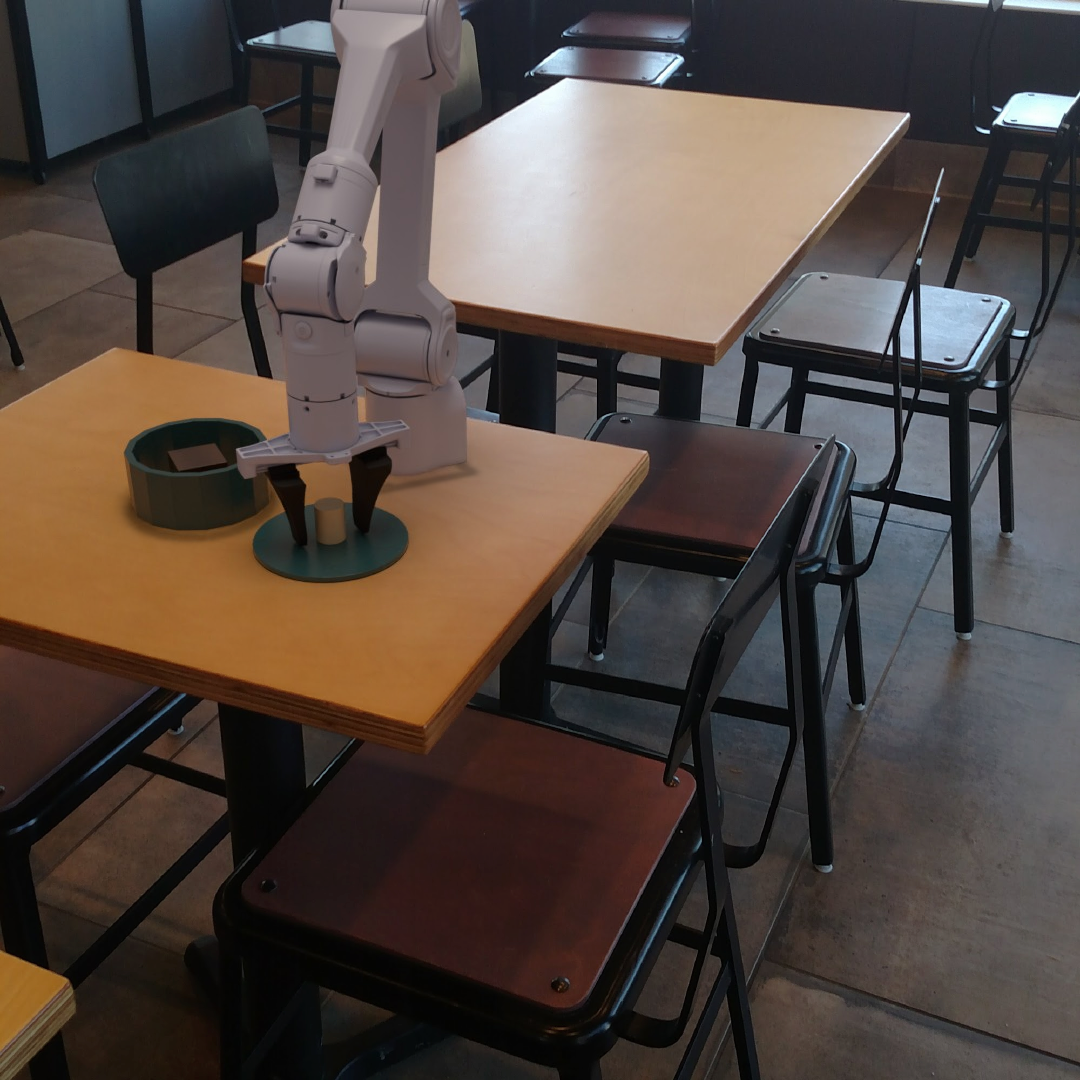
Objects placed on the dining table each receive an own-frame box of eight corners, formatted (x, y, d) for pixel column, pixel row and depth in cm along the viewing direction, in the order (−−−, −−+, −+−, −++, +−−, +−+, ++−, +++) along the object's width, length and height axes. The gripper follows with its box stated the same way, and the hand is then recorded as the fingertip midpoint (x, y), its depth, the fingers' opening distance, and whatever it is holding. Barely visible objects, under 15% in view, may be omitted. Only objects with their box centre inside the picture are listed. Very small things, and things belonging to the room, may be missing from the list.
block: (219, 485, 118) (214, 442, 116) (232, 504, 115) (227, 461, 113) (172, 493, 117) (167, 451, 114) (184, 514, 113) (178, 470, 111)
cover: (376, 501, 117) (374, 459, 115) (432, 567, 107) (431, 522, 105) (235, 530, 112) (230, 486, 109) (280, 602, 101) (275, 556, 99)
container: (250, 464, 123) (244, 409, 120) (288, 518, 114) (283, 460, 111) (121, 487, 118) (112, 430, 115) (149, 547, 109) (141, 486, 106)
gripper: (247, 421, 96) (262, 573, 102) (423, 392, 102) (426, 537, 108) (223, 389, 101) (239, 535, 108) (391, 363, 107) (396, 503, 114)
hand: (330, 534), depth 109 cm, fingers open, 5 cm apart
